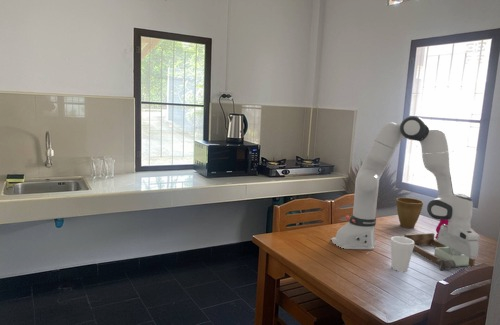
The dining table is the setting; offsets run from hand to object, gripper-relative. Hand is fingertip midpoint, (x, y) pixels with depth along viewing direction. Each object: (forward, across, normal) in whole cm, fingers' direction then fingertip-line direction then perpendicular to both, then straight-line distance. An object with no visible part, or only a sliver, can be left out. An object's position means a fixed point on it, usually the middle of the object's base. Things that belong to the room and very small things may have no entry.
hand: (454, 259), depth 171 cm
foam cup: (+2, 0, -29) cm, 29 cm away
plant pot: (+3, -53, +15) cm, 55 cm away
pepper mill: (+3, -31, +21) cm, 37 cm away
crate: (+2, -2, 0) cm, 3 cm away
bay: (+2, -9, -3) cm, 10 cm away
